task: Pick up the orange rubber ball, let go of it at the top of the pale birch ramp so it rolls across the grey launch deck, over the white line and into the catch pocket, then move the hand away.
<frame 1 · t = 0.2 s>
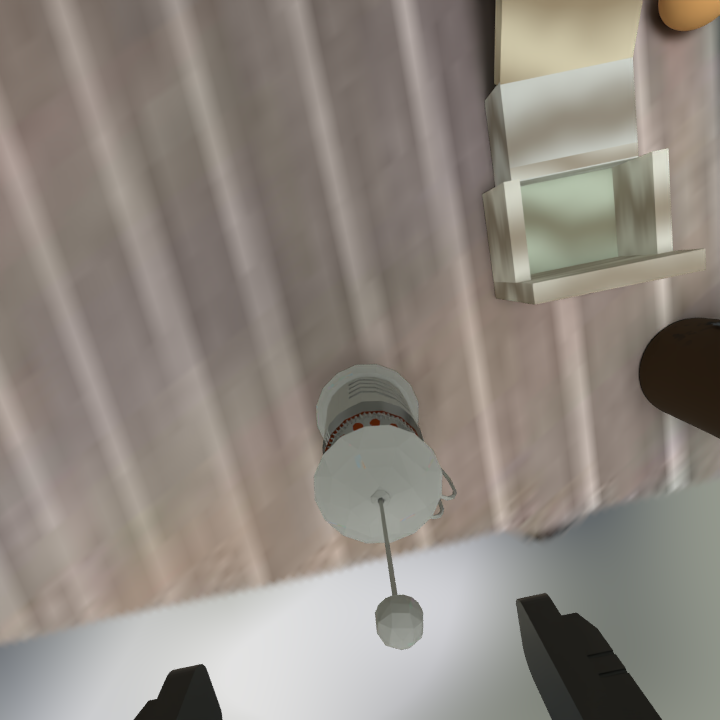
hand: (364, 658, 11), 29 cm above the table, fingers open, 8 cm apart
french press: (375, 418, 40), on the table
olive oil: (685, 365, 40), on the table
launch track: (548, 136, 35), on the table
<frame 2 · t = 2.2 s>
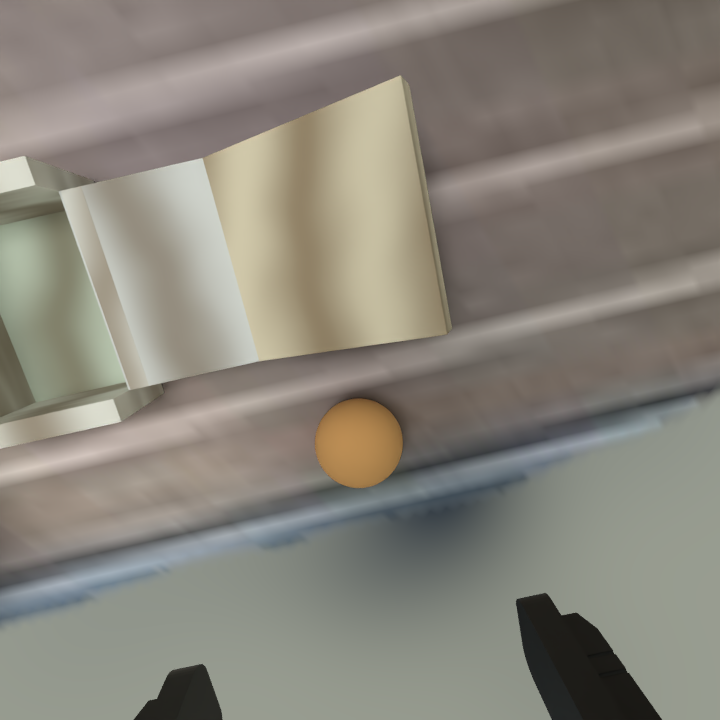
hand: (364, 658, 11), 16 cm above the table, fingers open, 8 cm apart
ball: (358, 442, 24), point 2 cm above the table
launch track: (189, 279, 24), on the table
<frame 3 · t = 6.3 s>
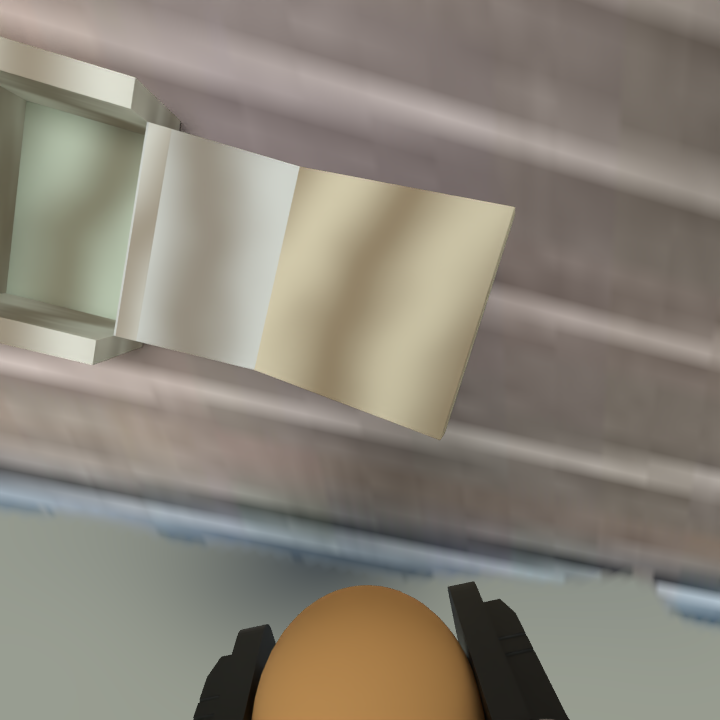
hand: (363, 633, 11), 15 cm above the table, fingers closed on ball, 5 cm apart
ball: (367, 714, 9), point 17 cm above the table, touching gripper
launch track: (223, 256, 23), on the table
when the fingers open (8 cm above the table, at t = 8.3 s): ball drops 7 cm and tips over, resting on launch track.
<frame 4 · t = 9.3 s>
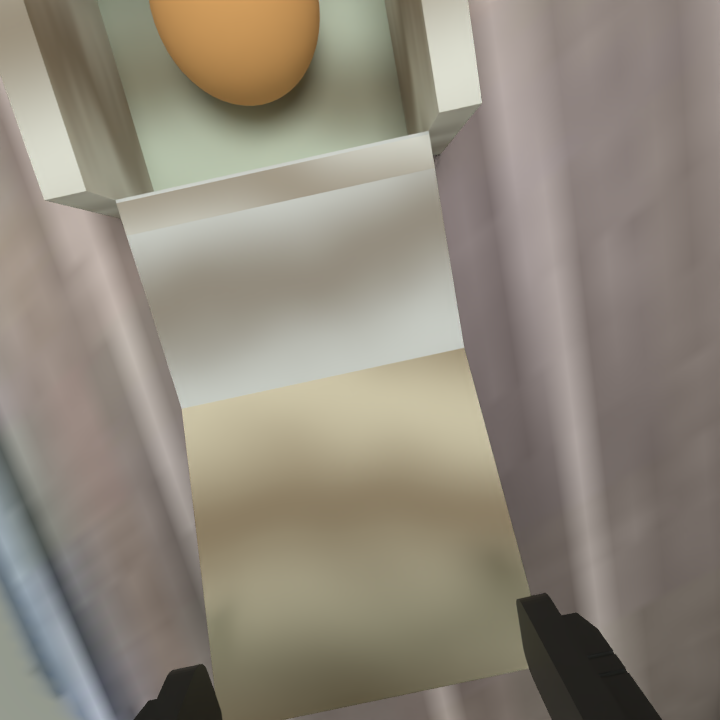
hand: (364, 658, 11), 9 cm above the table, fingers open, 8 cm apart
ball: (238, 10, 13), point 3 cm above the table, tilted 165°, touching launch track
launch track: (307, 276, 17), on the table
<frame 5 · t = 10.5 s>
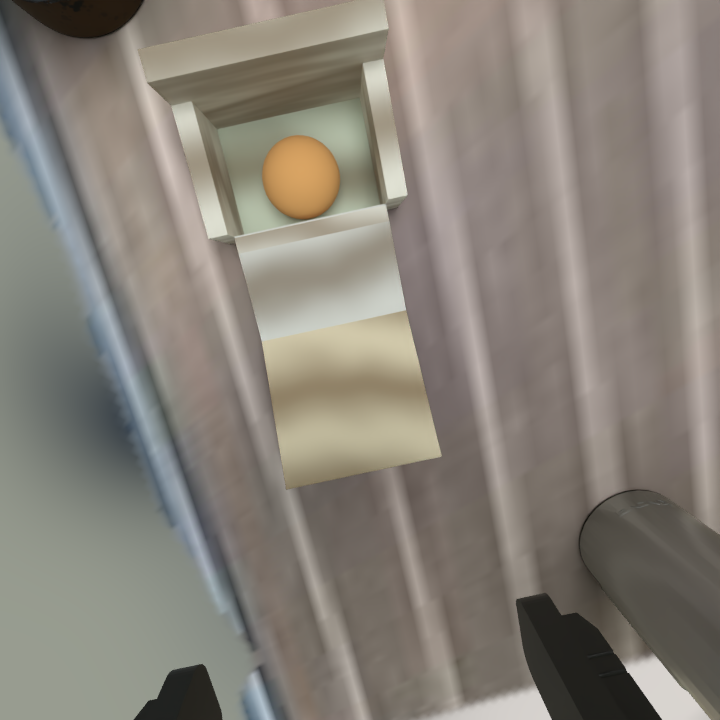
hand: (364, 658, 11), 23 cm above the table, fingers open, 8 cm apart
ball: (301, 178, 27), point 3 cm above the table, tilted 119°, touching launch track
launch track: (324, 274, 31), on the table
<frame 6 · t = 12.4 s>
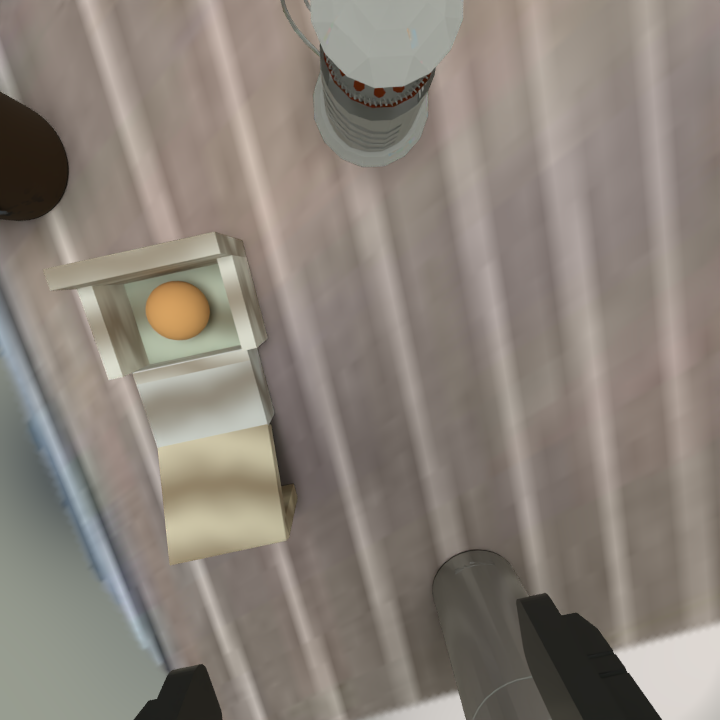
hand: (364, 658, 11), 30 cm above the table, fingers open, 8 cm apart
ball: (178, 310, 36), point 3 cm above the table, tilted 154°, touching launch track
french press: (361, 100, 35), on the table
olive oil: (13, 164, 35), on the table
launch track: (213, 388, 40), on the table
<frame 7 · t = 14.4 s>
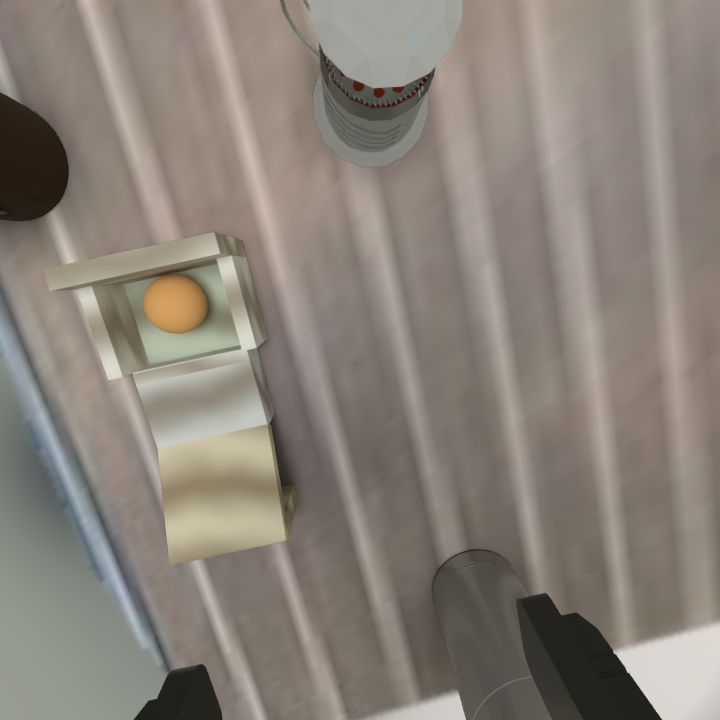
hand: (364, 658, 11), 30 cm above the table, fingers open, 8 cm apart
ball: (176, 304, 35), point 3 cm above the table, tilted 167°, touching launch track
french press: (361, 100, 35), on the table
olive oil: (12, 164, 35), on the table
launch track: (213, 388, 40), on the table
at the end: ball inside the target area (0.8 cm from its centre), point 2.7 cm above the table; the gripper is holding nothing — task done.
